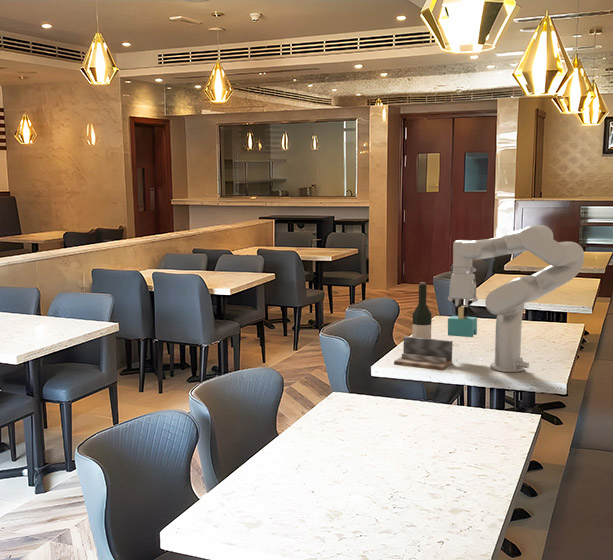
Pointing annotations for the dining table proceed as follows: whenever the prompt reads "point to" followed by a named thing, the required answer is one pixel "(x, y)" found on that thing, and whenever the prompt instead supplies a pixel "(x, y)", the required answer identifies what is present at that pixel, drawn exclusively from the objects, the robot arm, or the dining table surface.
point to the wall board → (426, 353)
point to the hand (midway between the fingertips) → (462, 315)
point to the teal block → (462, 325)
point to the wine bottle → (422, 316)
